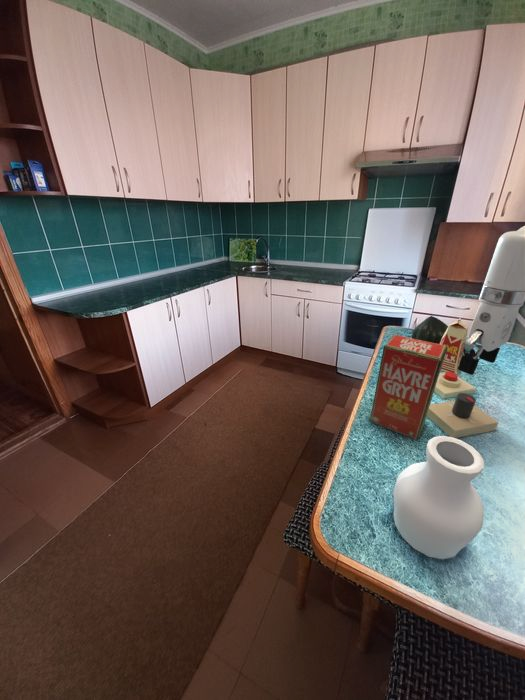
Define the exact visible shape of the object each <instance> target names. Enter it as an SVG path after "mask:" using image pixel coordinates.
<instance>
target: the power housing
mask: <svg viewBox="0 0 525 700" xmlns="http://www.w3.org/2000/svg"><path fill="white" fill-rule="evenodd" d="M445 373H446V372H440V373H439V377H438V380H437V383H436V386H435V390H434V394H437V395H438V396H439V397H440V398H442V399H444V400H445V399H449V398H455V397H457V395H458V394H459V393H466V394H469V395H473V394H475V393H476V391H477V388H476V387H475V386H473V384H470V382H468V381H466V380H465V379H462V378H461V377H459V376H458V377H457V380H456V381H455V382H453V381H448V380H446V379H444V376H445Z"/></svg>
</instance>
